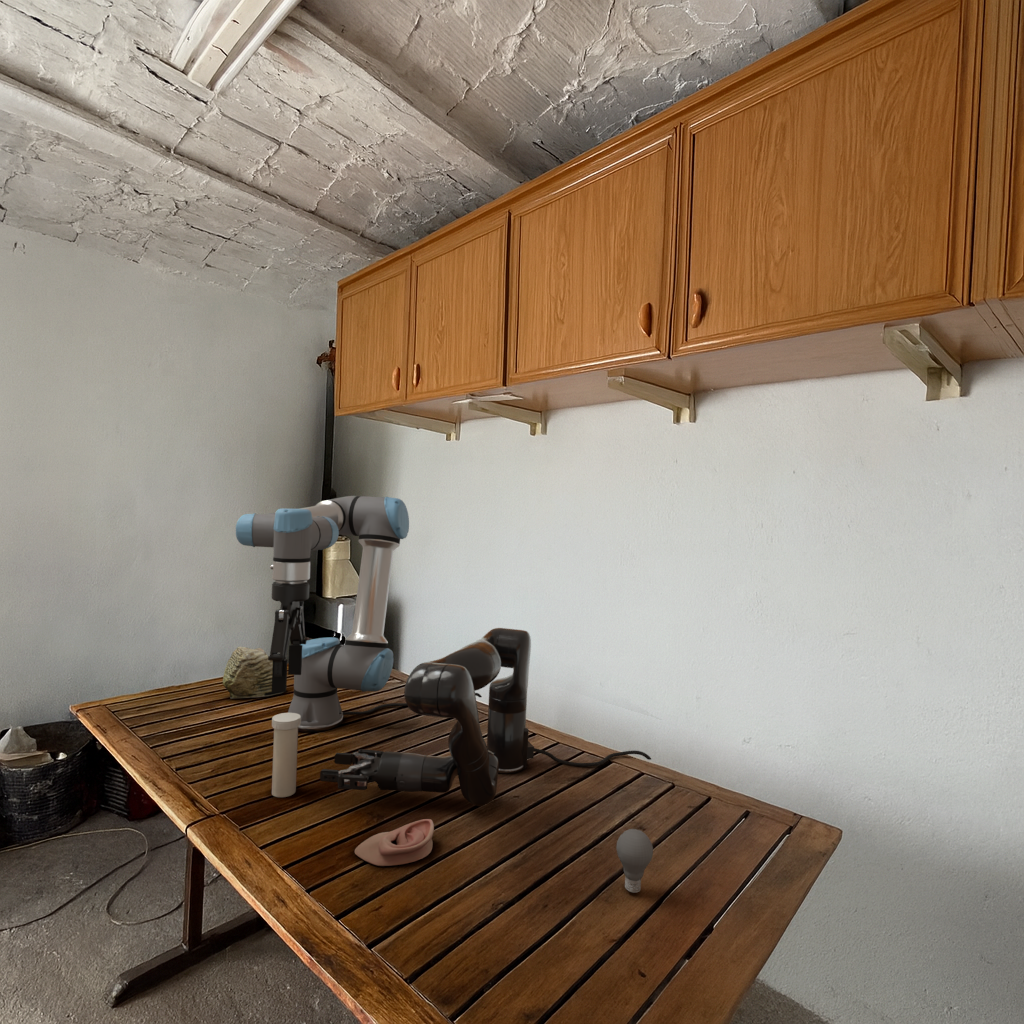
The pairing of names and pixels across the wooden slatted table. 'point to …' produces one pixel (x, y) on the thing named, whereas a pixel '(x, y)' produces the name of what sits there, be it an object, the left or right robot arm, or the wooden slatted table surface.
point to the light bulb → (634, 857)
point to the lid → (286, 721)
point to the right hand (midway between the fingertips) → (328, 766)
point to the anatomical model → (398, 844)
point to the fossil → (249, 674)
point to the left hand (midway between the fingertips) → (287, 682)
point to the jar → (284, 762)
